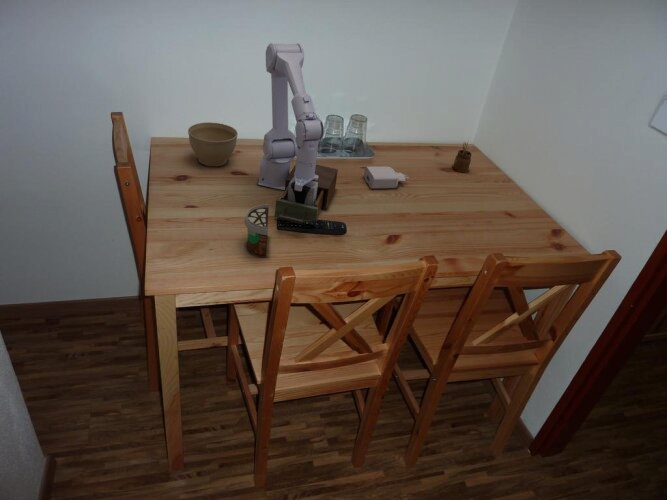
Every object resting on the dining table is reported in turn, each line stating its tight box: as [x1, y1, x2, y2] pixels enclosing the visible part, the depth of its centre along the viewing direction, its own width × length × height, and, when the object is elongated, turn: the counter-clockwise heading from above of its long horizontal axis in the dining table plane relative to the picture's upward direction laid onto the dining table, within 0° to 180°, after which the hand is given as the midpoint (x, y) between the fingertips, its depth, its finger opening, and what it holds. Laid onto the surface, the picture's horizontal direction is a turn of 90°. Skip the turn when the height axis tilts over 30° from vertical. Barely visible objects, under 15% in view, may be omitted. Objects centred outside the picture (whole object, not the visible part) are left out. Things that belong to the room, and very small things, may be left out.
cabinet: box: [284, 164, 339, 211], centre depth 163 cm, size 15×14×8 cm
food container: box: [244, 204, 270, 258], centre depth 135 cm, size 12×6×10 cm, turn 5°
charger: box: [363, 165, 410, 190], centre depth 178 cm, size 5×9×15 cm
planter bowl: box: [187, 122, 238, 167], centre depth 173 cm, size 16×16×11 cm
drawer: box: [274, 185, 325, 225], centre depth 151 cm, size 19×12×6 cm, turn 168°
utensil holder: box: [452, 141, 472, 173], centre depth 194 cm, size 6×6×12 cm
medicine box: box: [288, 177, 318, 206], centre depth 151 cm, size 8×4×9 cm, turn 78°
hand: (301, 201), depth 153 cm, fingers closed on medicine box, 4 cm apart
